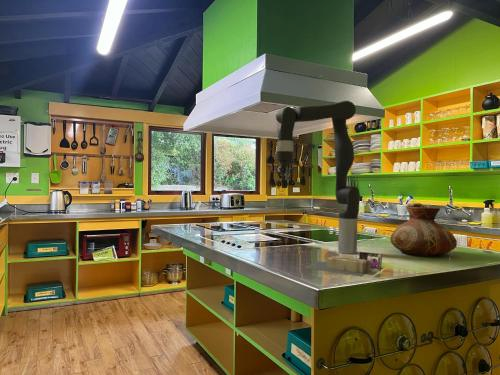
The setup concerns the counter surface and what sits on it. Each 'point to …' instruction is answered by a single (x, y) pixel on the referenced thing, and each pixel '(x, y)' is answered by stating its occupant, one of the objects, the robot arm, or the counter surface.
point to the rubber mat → (323, 267)
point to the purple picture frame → (373, 261)
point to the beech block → (348, 264)
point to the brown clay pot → (423, 233)
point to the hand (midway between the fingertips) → (284, 188)
